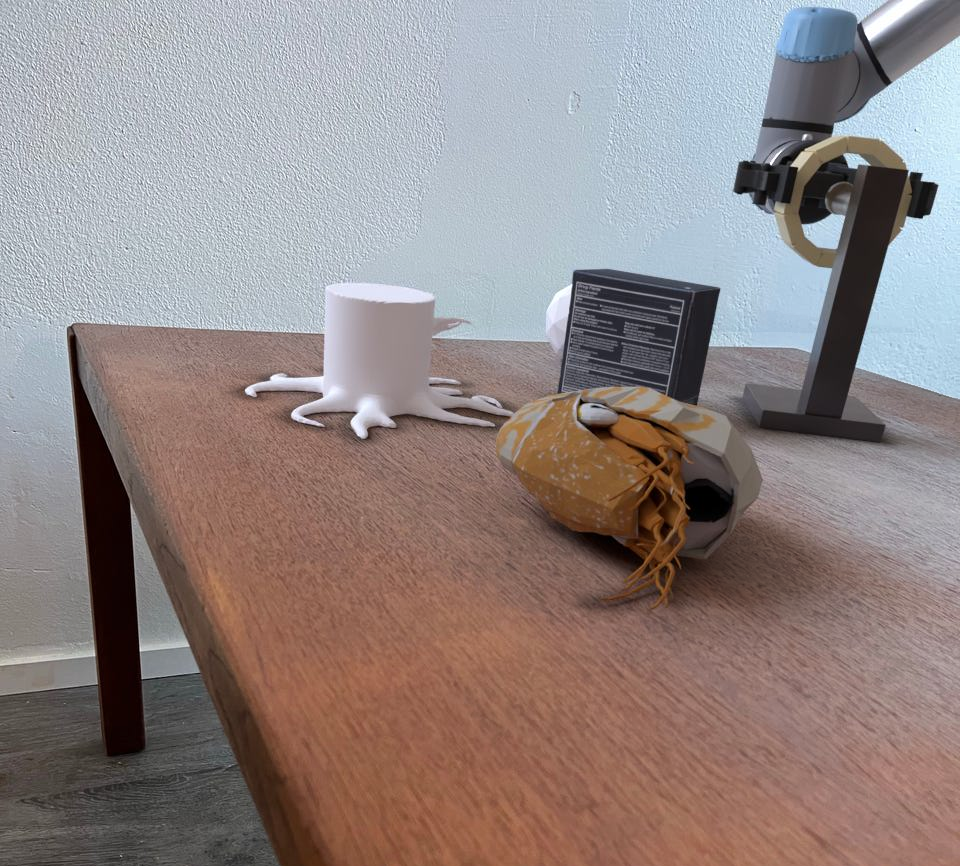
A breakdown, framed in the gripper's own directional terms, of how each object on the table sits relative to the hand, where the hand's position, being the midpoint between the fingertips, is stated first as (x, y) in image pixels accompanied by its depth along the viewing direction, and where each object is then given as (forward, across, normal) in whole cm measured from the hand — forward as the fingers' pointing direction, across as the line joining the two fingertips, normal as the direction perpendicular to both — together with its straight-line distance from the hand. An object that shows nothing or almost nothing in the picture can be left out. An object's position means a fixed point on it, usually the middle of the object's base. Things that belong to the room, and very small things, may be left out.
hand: (856, 192), depth 79 cm
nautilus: (+39, -18, +18) cm, 46 cm away
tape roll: (-4, 0, +6) cm, 7 cm away
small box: (+7, -16, +18) cm, 25 cm away
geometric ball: (-10, -20, +18) cm, 29 cm away
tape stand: (0, 0, +18) cm, 18 cm away
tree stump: (+14, -36, +18) cm, 42 cm away
